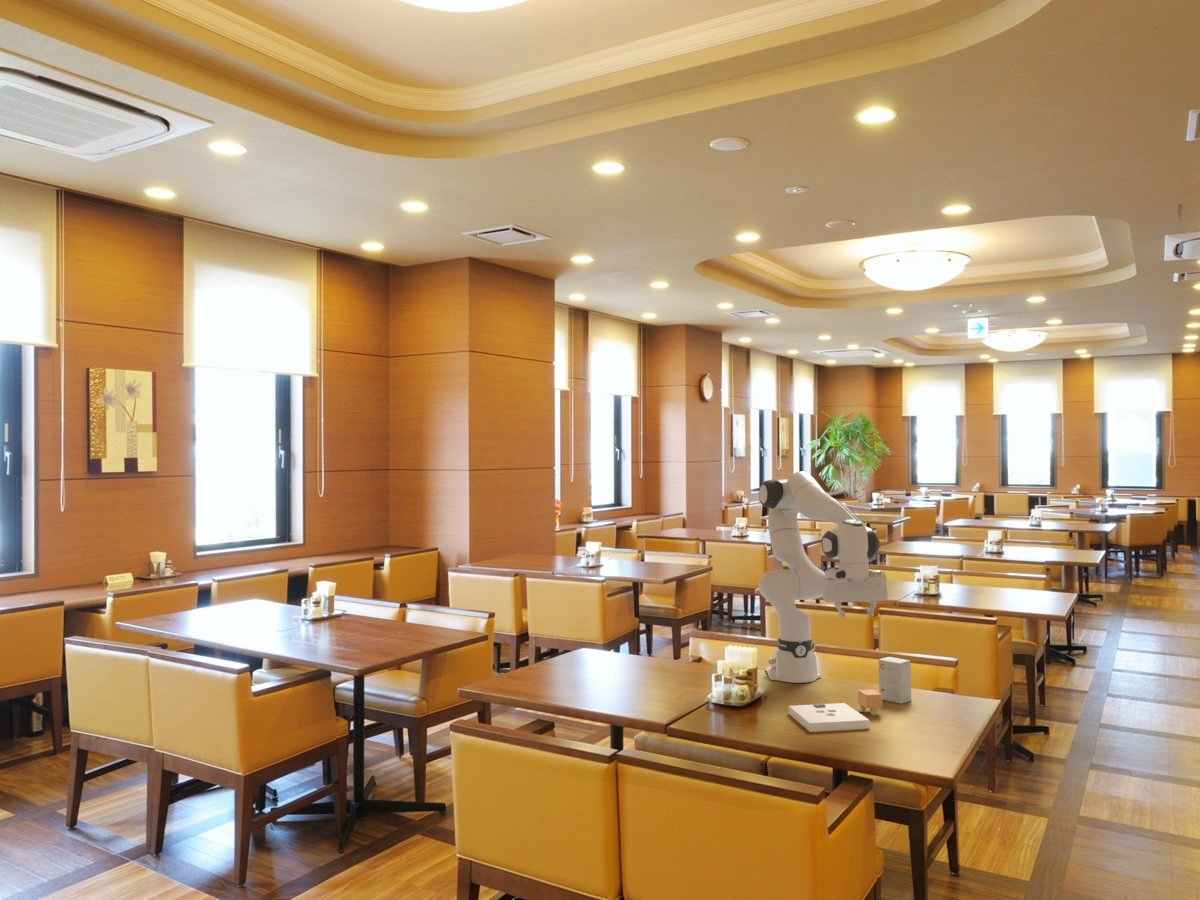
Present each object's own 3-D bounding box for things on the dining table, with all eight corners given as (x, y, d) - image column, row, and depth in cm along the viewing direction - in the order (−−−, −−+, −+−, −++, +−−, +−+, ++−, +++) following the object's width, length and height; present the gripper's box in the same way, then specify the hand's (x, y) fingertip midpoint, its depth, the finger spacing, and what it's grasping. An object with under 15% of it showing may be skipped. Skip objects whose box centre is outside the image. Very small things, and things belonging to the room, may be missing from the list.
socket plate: (788, 714, 266) (788, 703, 266) (844, 711, 269) (844, 701, 269) (810, 732, 249) (809, 721, 249) (869, 728, 251) (869, 717, 251)
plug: (858, 710, 269) (858, 690, 269) (873, 709, 270) (873, 689, 270) (866, 715, 263) (866, 695, 263) (882, 715, 264) (881, 694, 264)
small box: (911, 700, 279) (911, 660, 279) (901, 704, 275) (900, 663, 275) (889, 695, 285) (888, 656, 286) (878, 699, 281) (877, 659, 281)
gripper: (881, 569, 275) (883, 613, 275) (819, 571, 273) (821, 615, 272) (890, 571, 269) (892, 616, 268) (827, 573, 267) (829, 618, 266)
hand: (856, 616), depth 270 cm, fingers open, 8 cm apart
